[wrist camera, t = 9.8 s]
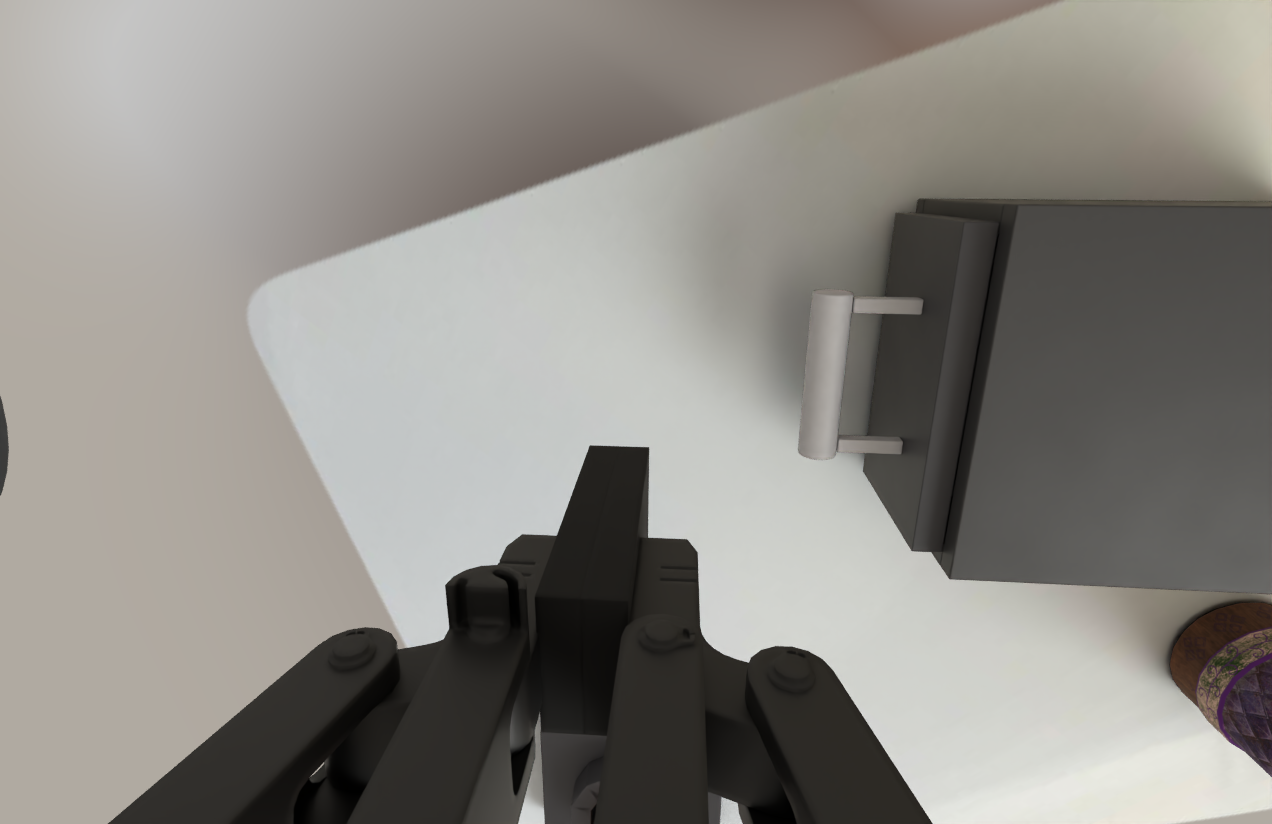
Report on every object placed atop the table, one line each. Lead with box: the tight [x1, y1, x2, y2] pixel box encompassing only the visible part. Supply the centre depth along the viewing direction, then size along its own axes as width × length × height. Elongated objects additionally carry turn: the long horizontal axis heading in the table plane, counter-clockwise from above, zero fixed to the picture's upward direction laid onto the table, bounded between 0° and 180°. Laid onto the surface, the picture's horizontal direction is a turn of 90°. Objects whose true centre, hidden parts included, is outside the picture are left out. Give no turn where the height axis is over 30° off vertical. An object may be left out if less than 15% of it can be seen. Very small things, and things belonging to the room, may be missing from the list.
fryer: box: [916, 199, 1272, 594], centre depth 28 cm, size 16×14×10 cm
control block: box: [541, 732, 721, 824], centre depth 41 cm, size 11×9×4 cm
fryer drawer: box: [798, 213, 1000, 552], centre depth 28 cm, size 19×13×8 cm
